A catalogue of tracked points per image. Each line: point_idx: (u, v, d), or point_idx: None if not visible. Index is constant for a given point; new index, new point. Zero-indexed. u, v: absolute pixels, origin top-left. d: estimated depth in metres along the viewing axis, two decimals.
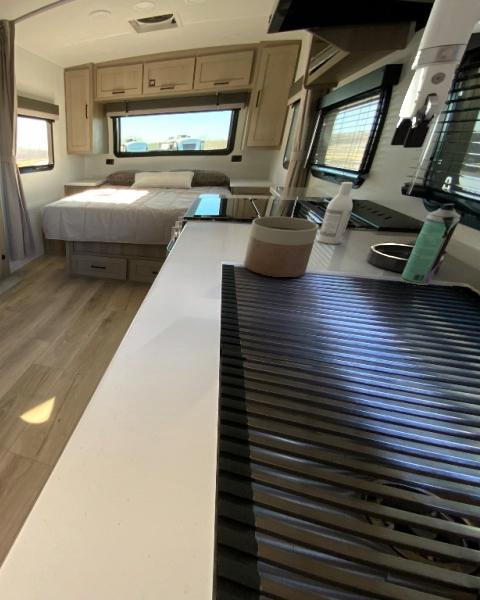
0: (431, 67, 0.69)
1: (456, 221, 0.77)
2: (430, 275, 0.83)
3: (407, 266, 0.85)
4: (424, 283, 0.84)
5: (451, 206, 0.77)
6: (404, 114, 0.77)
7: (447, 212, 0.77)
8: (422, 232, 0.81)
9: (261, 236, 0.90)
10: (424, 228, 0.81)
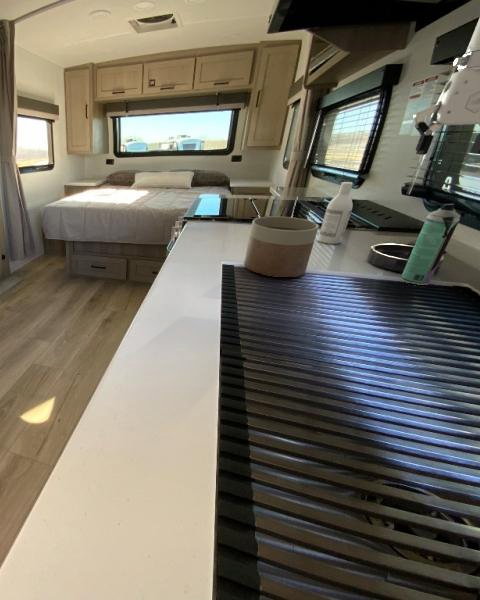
0: None
1: (456, 221, 0.77)
2: (430, 275, 0.83)
3: (407, 266, 0.85)
4: (424, 283, 0.84)
5: (451, 206, 0.77)
6: None
7: (447, 212, 0.77)
8: (422, 232, 0.81)
9: (261, 236, 0.90)
10: (424, 228, 0.81)
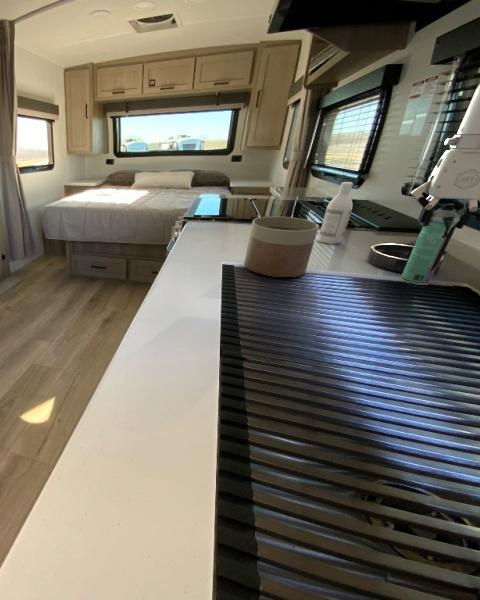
0: None
1: (456, 221, 0.77)
2: (430, 275, 0.83)
3: (407, 266, 0.85)
4: (424, 283, 0.84)
5: (451, 206, 0.77)
6: None
7: (447, 212, 0.77)
8: (422, 232, 0.81)
9: (261, 236, 0.90)
10: (424, 228, 0.81)
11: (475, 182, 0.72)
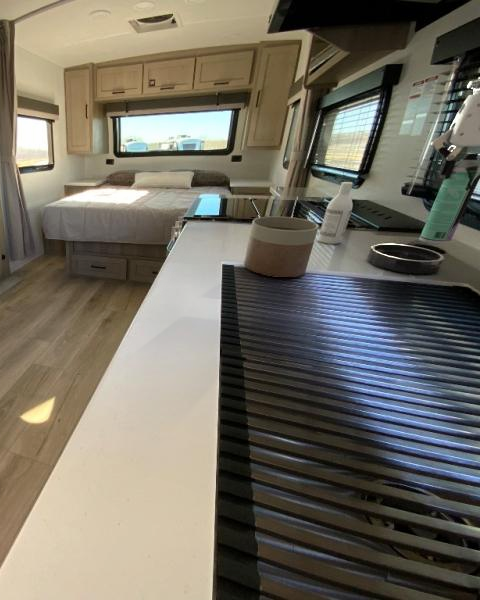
0: None
1: None
2: (452, 231, 0.78)
3: (427, 224, 0.81)
4: (446, 241, 0.79)
5: (475, 155, 0.72)
6: None
7: (470, 162, 0.73)
8: (443, 186, 0.77)
9: (261, 236, 0.90)
10: (445, 181, 0.76)
11: None
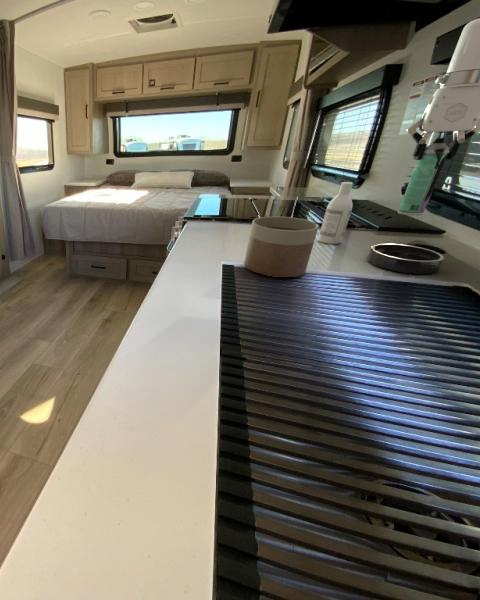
0: None
1: (446, 152, 0.87)
2: (424, 204, 0.93)
3: (404, 199, 0.96)
4: (419, 213, 0.94)
5: (442, 139, 0.87)
6: None
7: (438, 145, 0.87)
8: (417, 166, 0.92)
9: (261, 236, 0.90)
10: (418, 162, 0.91)
11: (462, 115, 0.83)
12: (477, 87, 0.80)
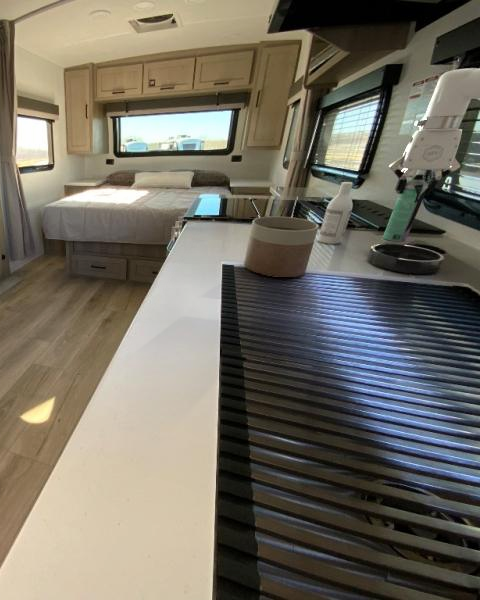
0: None
1: (425, 188, 0.94)
2: (406, 234, 1.01)
3: (387, 228, 1.03)
4: (401, 242, 1.02)
5: (421, 176, 0.95)
6: None
7: (418, 181, 0.95)
8: (398, 199, 0.99)
9: (261, 236, 0.90)
10: (400, 195, 0.98)
11: (438, 155, 0.90)
12: (452, 131, 0.87)
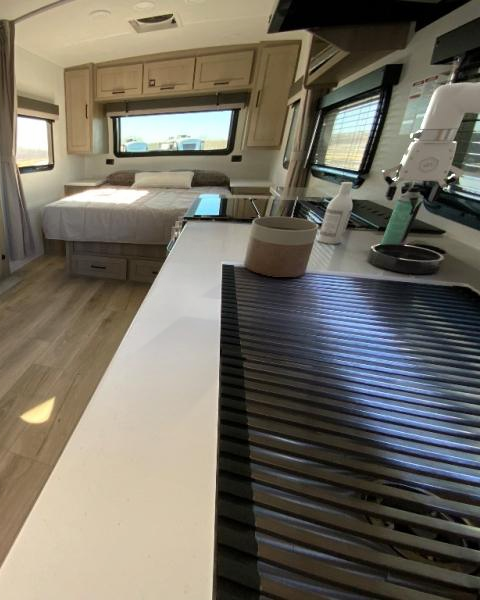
0: None
1: (420, 201, 0.96)
2: None
3: (383, 239, 1.05)
4: None
5: (416, 189, 0.96)
6: None
7: (413, 194, 0.96)
8: (394, 211, 1.01)
9: (261, 236, 0.90)
10: (396, 207, 1.00)
11: (434, 167, 0.91)
12: (447, 144, 0.89)
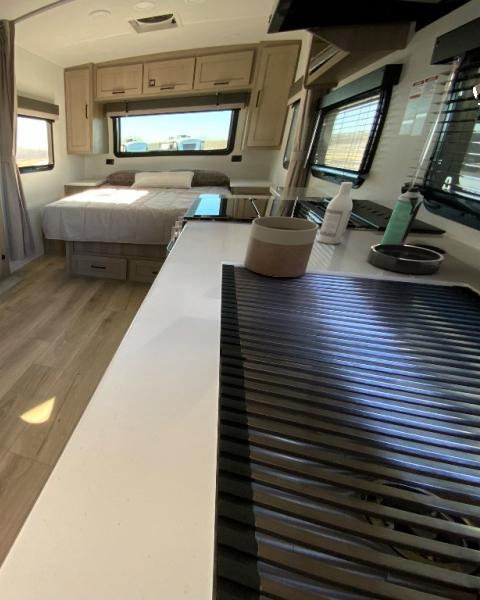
0: None
1: (420, 201, 0.96)
2: None
3: (383, 239, 1.05)
4: None
5: (416, 189, 0.96)
6: None
7: (413, 194, 0.96)
8: (394, 211, 1.01)
9: (261, 236, 0.90)
10: (396, 207, 1.00)
11: None
12: None
